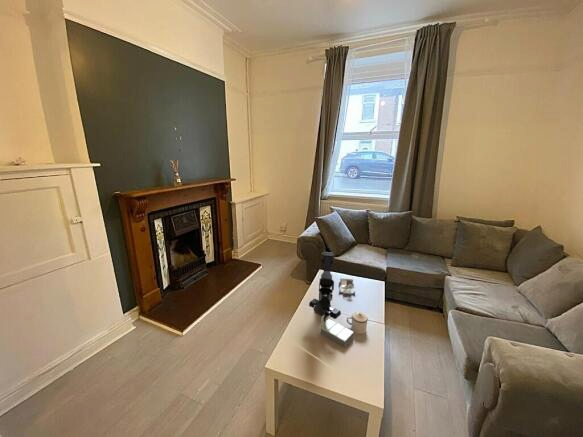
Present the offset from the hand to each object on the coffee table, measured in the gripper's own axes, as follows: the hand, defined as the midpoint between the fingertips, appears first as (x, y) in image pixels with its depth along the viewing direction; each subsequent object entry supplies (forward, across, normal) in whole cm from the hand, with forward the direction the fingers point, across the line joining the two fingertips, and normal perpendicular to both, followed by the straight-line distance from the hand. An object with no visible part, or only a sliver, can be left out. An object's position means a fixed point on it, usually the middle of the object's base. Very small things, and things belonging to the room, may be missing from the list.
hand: (323, 320), depth 146 cm
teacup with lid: (+6, +14, +14) cm, 21 cm away
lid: (+2, +8, 0) cm, 8 cm away
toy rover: (+7, -12, +49) cm, 51 cm away
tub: (+6, +9, 0) cm, 11 cm away
